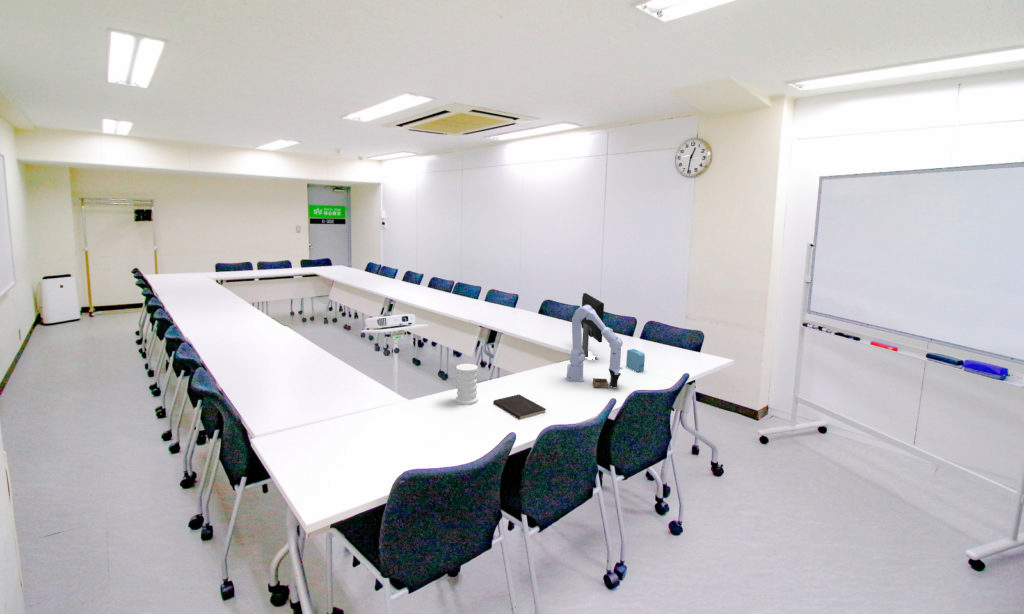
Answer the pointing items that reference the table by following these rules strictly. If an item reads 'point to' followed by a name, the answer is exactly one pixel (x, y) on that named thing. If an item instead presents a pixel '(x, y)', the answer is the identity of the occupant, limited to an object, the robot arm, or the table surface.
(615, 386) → the battery cell
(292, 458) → the table surface
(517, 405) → the hardcover book
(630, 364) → the data package
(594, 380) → the brown square tray
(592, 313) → the robot arm
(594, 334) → the computer monitor
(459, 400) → the decorative container
